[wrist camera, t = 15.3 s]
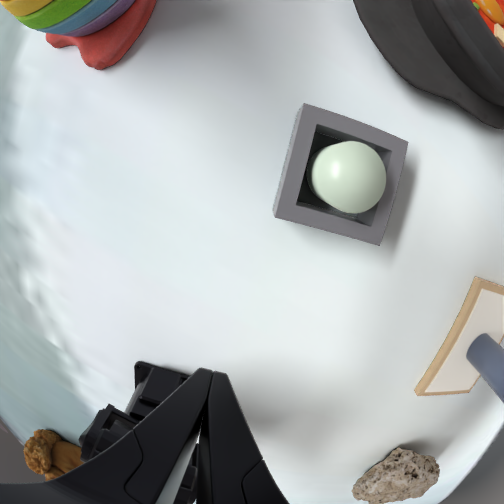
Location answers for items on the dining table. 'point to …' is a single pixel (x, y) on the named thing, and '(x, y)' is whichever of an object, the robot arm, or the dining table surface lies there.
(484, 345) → the toy microphone
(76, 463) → the stuffed squirrel
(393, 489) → the pumice stone
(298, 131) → the gray square hollow block
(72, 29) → the stacking bear
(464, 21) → the casserole
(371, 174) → the button
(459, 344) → the sketch pad
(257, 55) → the dining table surface
